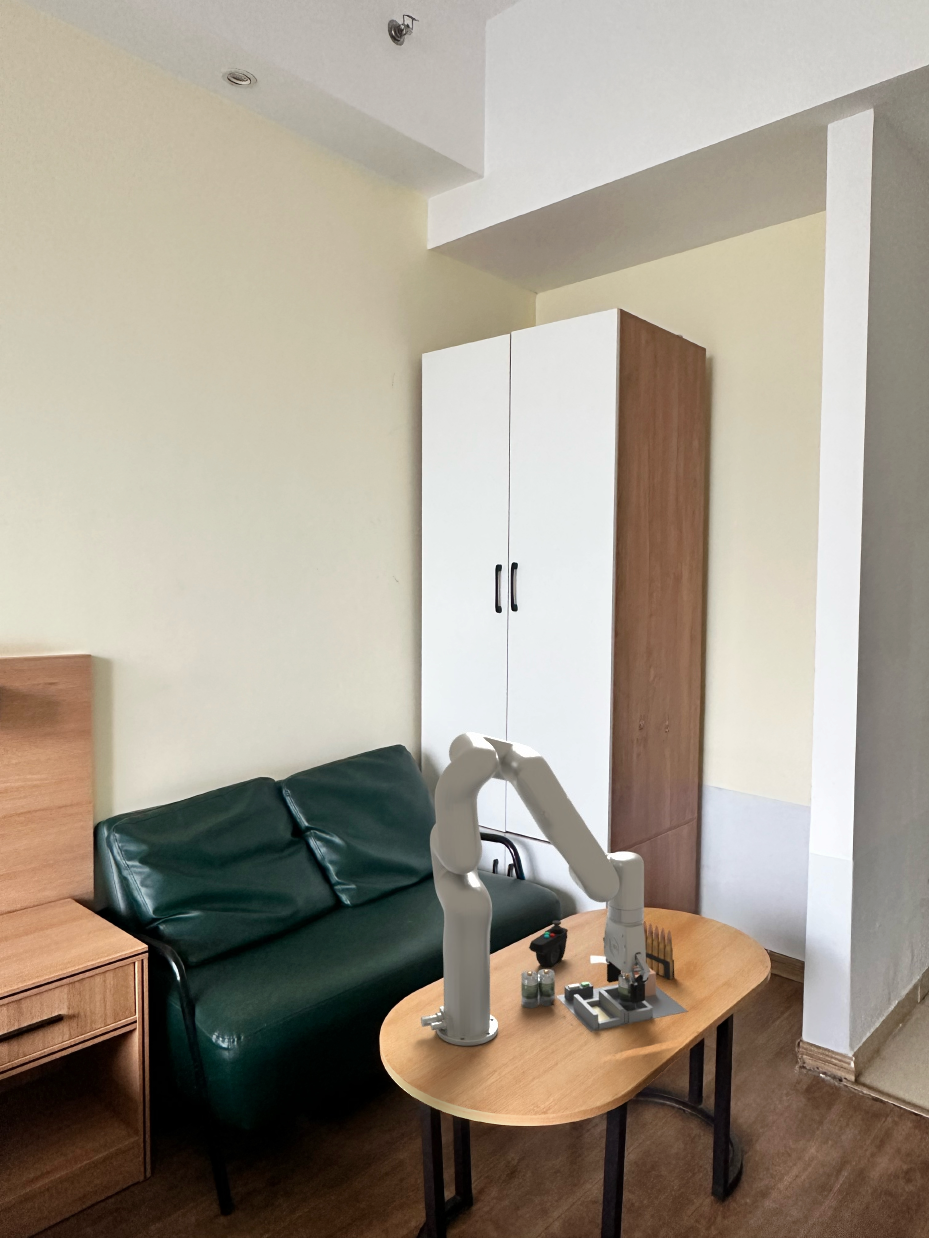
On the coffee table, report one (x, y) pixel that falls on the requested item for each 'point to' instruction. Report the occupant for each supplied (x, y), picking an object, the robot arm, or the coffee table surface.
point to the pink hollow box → (649, 982)
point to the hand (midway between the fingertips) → (625, 991)
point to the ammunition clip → (659, 952)
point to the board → (614, 1006)
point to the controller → (550, 945)
